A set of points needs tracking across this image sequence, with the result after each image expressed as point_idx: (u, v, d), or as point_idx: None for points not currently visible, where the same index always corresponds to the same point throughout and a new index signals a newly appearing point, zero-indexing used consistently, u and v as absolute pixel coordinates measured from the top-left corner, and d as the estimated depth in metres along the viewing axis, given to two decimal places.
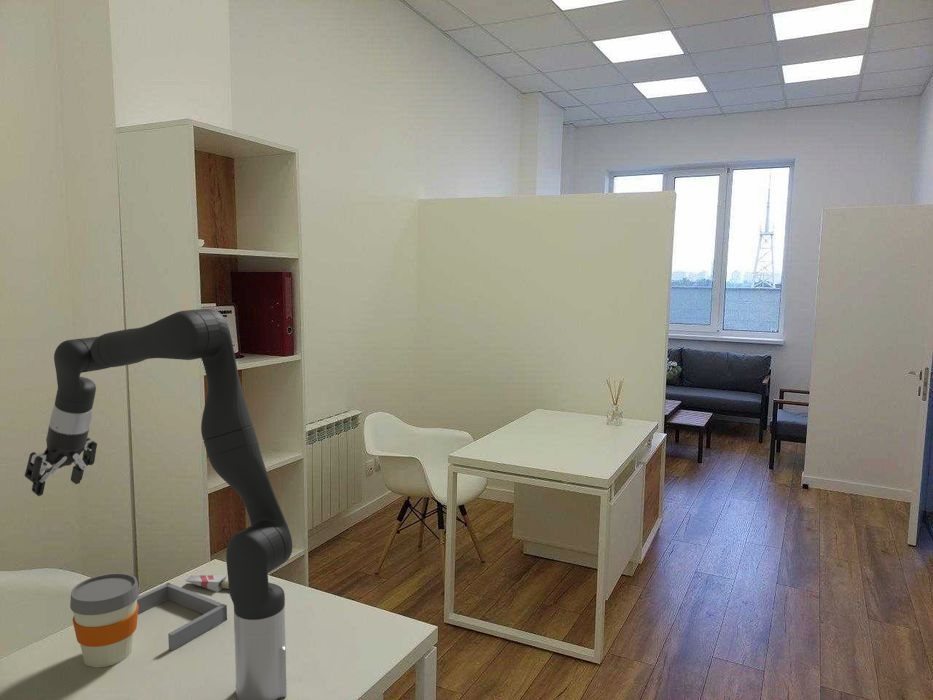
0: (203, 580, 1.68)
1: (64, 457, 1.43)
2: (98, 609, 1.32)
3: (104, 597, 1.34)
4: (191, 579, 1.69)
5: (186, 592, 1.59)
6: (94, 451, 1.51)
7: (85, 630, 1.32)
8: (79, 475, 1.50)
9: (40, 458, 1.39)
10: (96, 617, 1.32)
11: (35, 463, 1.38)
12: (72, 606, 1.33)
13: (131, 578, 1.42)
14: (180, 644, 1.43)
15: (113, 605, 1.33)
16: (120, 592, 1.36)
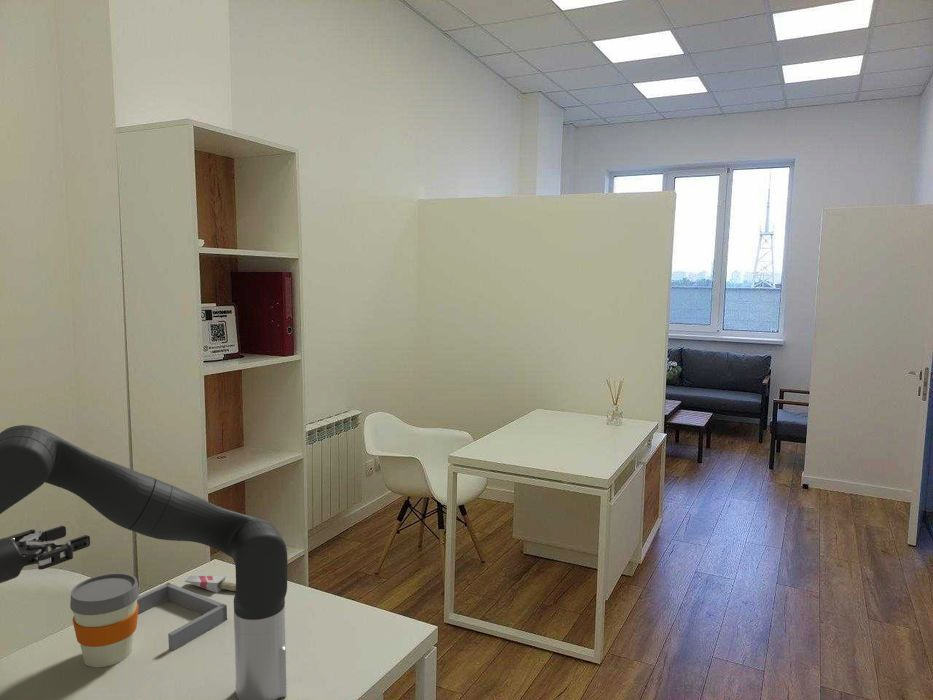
0: (202, 580, 1.67)
1: (28, 544, 1.22)
2: (98, 609, 1.32)
3: (104, 597, 1.34)
4: (190, 580, 1.68)
5: (186, 592, 1.59)
6: (14, 535, 1.27)
7: (85, 630, 1.32)
8: (52, 529, 1.30)
9: (39, 556, 1.19)
10: (96, 617, 1.32)
11: (48, 555, 1.19)
12: (72, 606, 1.33)
13: (131, 578, 1.42)
14: (180, 644, 1.43)
15: (113, 605, 1.33)
16: (120, 592, 1.36)
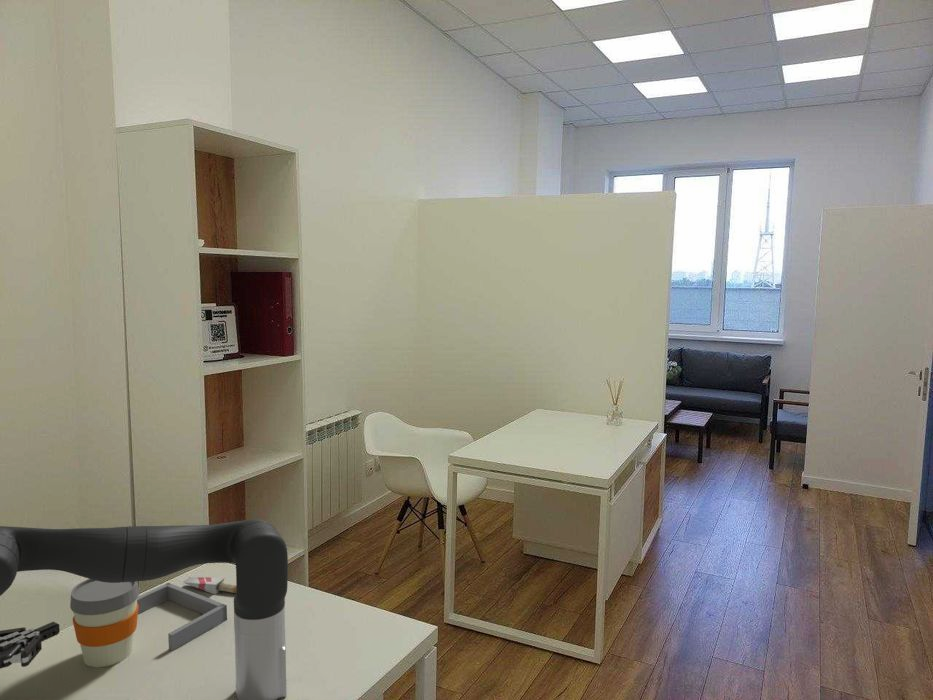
0: (201, 582, 1.67)
1: (2, 645, 1.20)
2: (98, 609, 1.32)
3: (104, 597, 1.34)
4: (189, 581, 1.68)
5: (186, 592, 1.59)
6: (2, 631, 1.25)
7: (85, 630, 1.32)
8: (43, 627, 1.27)
9: (23, 653, 1.19)
10: (96, 617, 1.32)
11: (30, 650, 1.20)
12: (72, 606, 1.33)
13: None
14: (180, 644, 1.43)
15: (113, 605, 1.33)
16: (120, 592, 1.36)
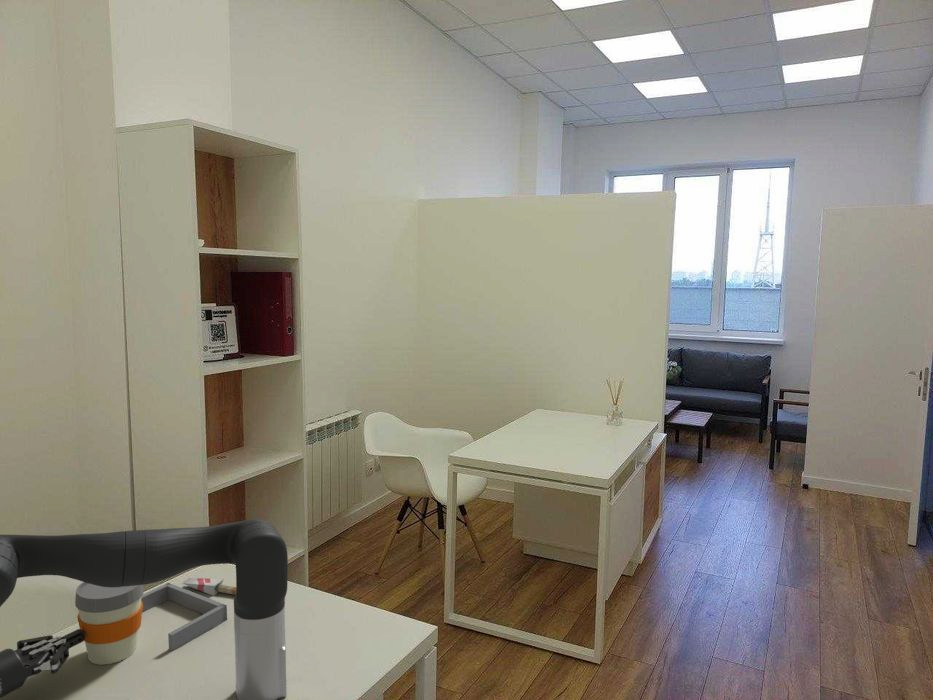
0: (200, 583, 1.66)
1: (32, 653, 1.24)
2: (102, 607, 1.33)
3: (108, 595, 1.35)
4: (188, 582, 1.67)
5: (186, 592, 1.59)
6: (31, 639, 1.30)
7: (89, 627, 1.33)
8: (69, 634, 1.32)
9: (52, 660, 1.23)
10: (100, 614, 1.33)
11: (59, 658, 1.25)
12: (77, 603, 1.34)
13: None
14: (180, 644, 1.43)
15: (117, 603, 1.34)
16: (124, 590, 1.37)
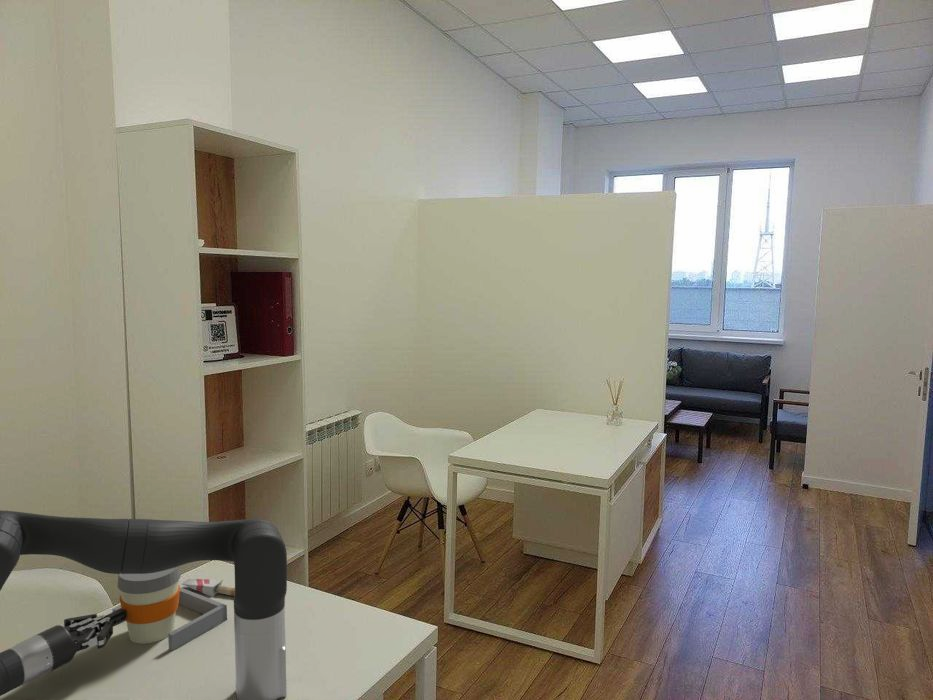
0: (199, 584, 1.66)
1: (79, 630, 1.32)
2: (141, 588, 1.40)
3: (147, 578, 1.43)
4: (187, 583, 1.67)
5: (186, 592, 1.59)
6: (76, 618, 1.38)
7: (129, 608, 1.41)
8: (112, 613, 1.40)
9: (99, 636, 1.31)
10: (139, 596, 1.41)
11: (105, 634, 1.32)
12: (119, 585, 1.42)
13: None
14: (180, 644, 1.43)
15: (155, 585, 1.41)
16: (162, 574, 1.45)
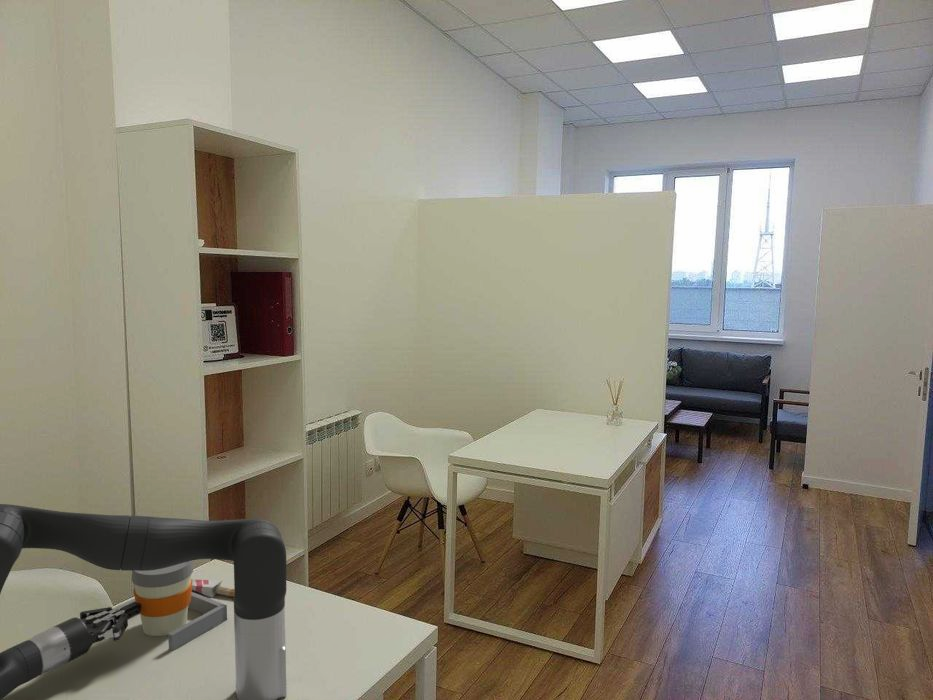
0: (198, 584, 1.65)
1: (96, 622, 1.35)
2: (155, 582, 1.43)
3: (161, 572, 1.46)
4: None
5: None
6: (92, 610, 1.40)
7: (143, 601, 1.44)
8: (127, 606, 1.43)
9: (115, 629, 1.34)
10: (153, 589, 1.43)
11: (120, 626, 1.35)
12: (133, 578, 1.45)
13: None
14: (180, 644, 1.43)
15: (169, 579, 1.44)
16: (176, 568, 1.47)
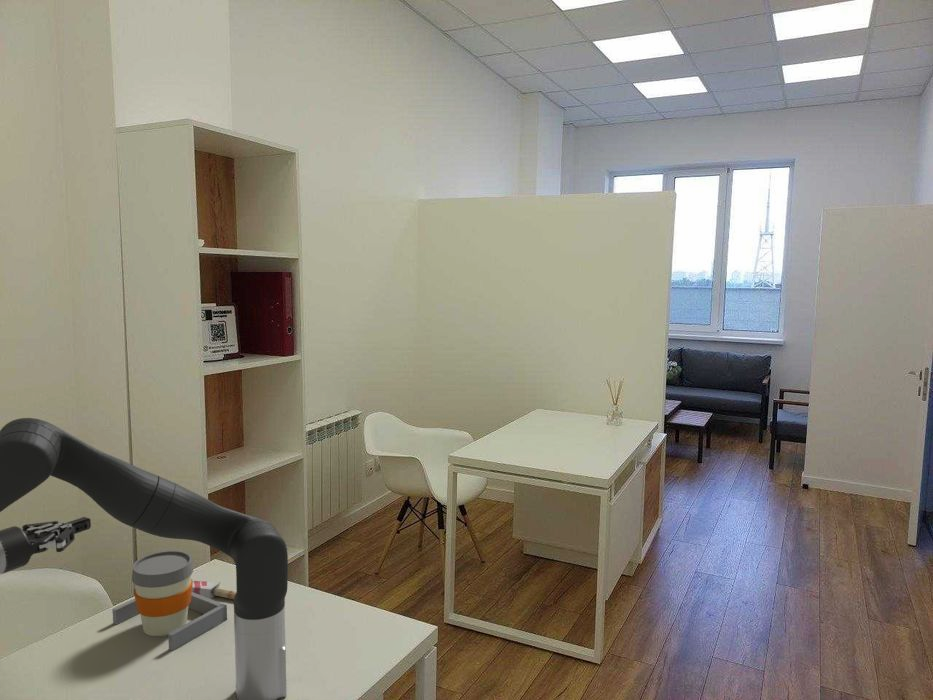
0: (196, 586, 1.65)
1: (37, 532, 1.23)
2: (155, 582, 1.43)
3: (161, 572, 1.46)
4: None
5: None
6: (36, 524, 1.29)
7: (144, 601, 1.44)
8: (75, 520, 1.31)
9: (58, 539, 1.22)
10: (153, 589, 1.43)
11: (64, 537, 1.24)
12: (133, 578, 1.45)
13: (187, 556, 1.53)
14: (180, 644, 1.43)
15: (169, 579, 1.44)
16: (176, 568, 1.47)
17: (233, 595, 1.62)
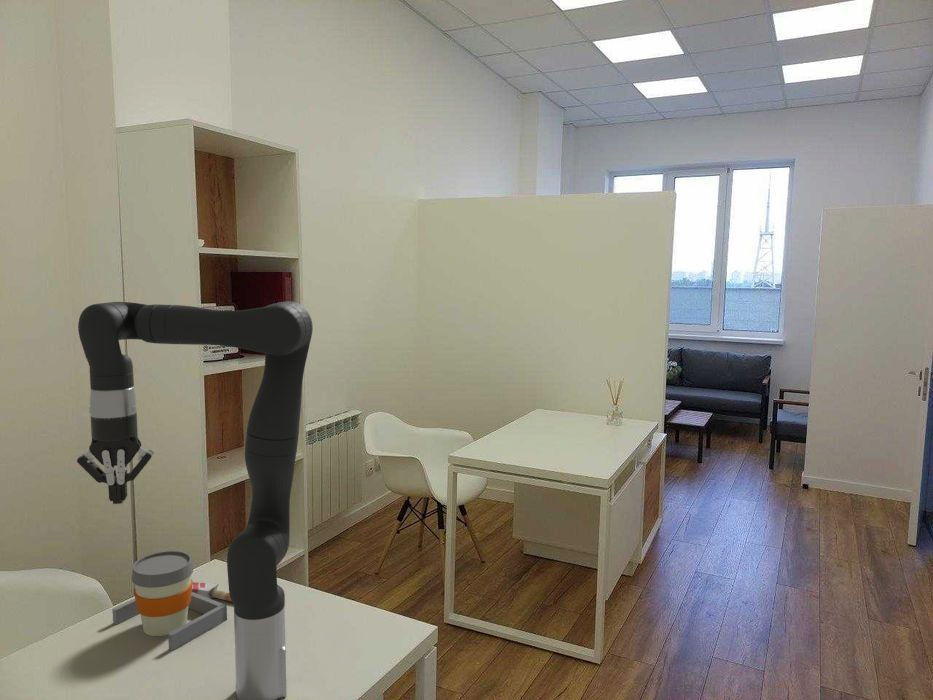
0: (194, 587, 1.64)
1: None
2: (155, 582, 1.43)
3: (161, 572, 1.46)
4: None
5: None
6: None
7: (144, 601, 1.44)
8: None
9: None
10: (153, 589, 1.43)
11: None
12: (133, 578, 1.45)
13: (187, 556, 1.53)
14: (180, 644, 1.43)
15: (169, 579, 1.44)
16: (176, 568, 1.47)
17: None
